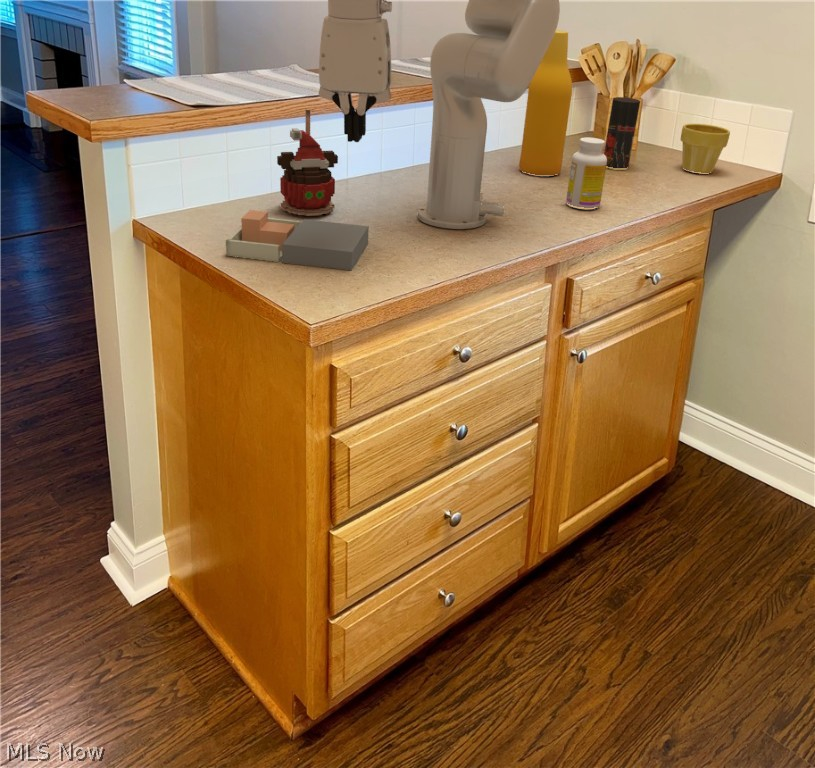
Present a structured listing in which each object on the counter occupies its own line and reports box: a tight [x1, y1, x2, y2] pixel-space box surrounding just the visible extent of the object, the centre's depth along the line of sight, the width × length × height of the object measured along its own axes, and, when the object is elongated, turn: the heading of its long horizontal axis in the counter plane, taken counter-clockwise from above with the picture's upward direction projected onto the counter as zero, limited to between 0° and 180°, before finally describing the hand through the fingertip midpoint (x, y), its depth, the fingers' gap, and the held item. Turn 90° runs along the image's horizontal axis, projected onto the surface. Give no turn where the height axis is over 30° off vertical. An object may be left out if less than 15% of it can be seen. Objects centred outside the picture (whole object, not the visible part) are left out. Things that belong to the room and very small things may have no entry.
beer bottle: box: [518, 29, 573, 175], centre depth 185 cm, size 9×9×29 cm
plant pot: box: [680, 123, 731, 173], centre depth 199 cm, size 10×10×10 cm
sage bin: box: [225, 217, 301, 263], centre depth 140 cm, size 8×13×3 cm, turn 171°
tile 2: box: [259, 222, 295, 251], centre depth 140 cm, size 4×4×3 cm
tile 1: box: [240, 209, 269, 243], centre depth 140 cm, size 4×4×3 cm
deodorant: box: [603, 96, 641, 168], centre depth 196 cm, size 6×6×15 cm
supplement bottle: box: [565, 136, 607, 208], centre depth 168 cm, size 7×7×13 cm
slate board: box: [281, 218, 370, 272], centre depth 139 cm, size 11×13×3 cm
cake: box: [276, 108, 339, 217], centre depth 154 cm, size 11×9×18 cm
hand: (354, 139), depth 131 cm, fingers closed
